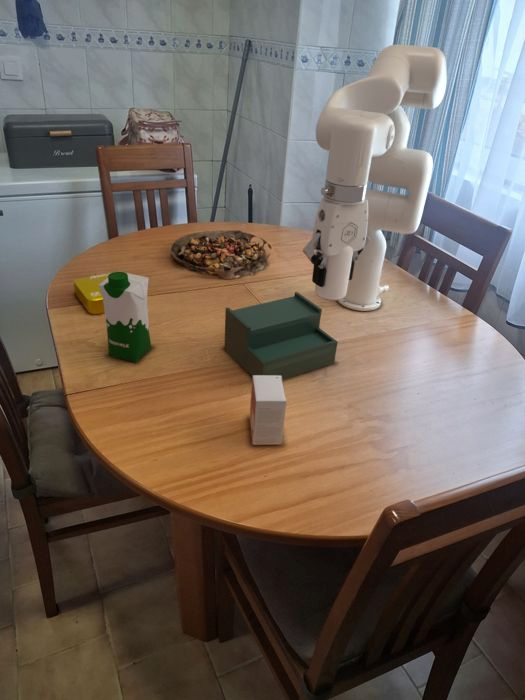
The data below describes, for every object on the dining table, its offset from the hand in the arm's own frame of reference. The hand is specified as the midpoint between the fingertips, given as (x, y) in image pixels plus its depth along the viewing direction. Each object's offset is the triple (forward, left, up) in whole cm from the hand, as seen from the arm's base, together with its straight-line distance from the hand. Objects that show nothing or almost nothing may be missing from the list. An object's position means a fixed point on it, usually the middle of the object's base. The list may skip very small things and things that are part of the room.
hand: (332, 280), depth 103 cm
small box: (+21, +11, -23) cm, 33 cm away
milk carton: (+34, -27, -23) cm, 49 cm away
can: (0, 0, -3) cm, 3 cm away
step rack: (+4, -10, -23) cm, 26 cm away
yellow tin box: (+30, -55, -23) cm, 67 cm away
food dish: (-12, -69, -23) cm, 74 cm away
